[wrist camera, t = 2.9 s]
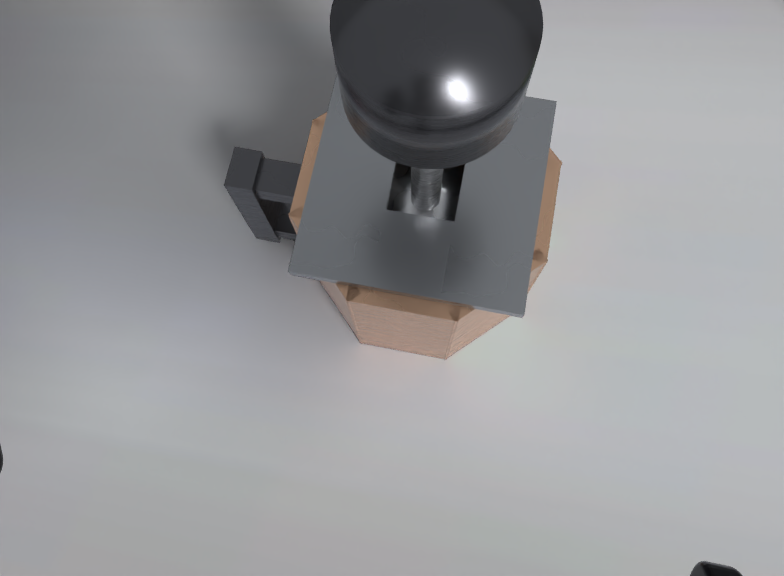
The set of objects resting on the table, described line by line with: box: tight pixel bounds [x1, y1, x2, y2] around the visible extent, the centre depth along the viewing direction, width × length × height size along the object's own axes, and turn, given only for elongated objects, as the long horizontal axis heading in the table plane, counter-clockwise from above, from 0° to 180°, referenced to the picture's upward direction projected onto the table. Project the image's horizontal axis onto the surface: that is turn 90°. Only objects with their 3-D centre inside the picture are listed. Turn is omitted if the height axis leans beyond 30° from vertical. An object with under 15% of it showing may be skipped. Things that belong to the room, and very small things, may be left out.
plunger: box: [330, 0, 543, 222], centre depth 16 cm, size 5×5×8 cm
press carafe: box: [224, 75, 562, 360], centre depth 21 cm, size 7×9×6 cm
